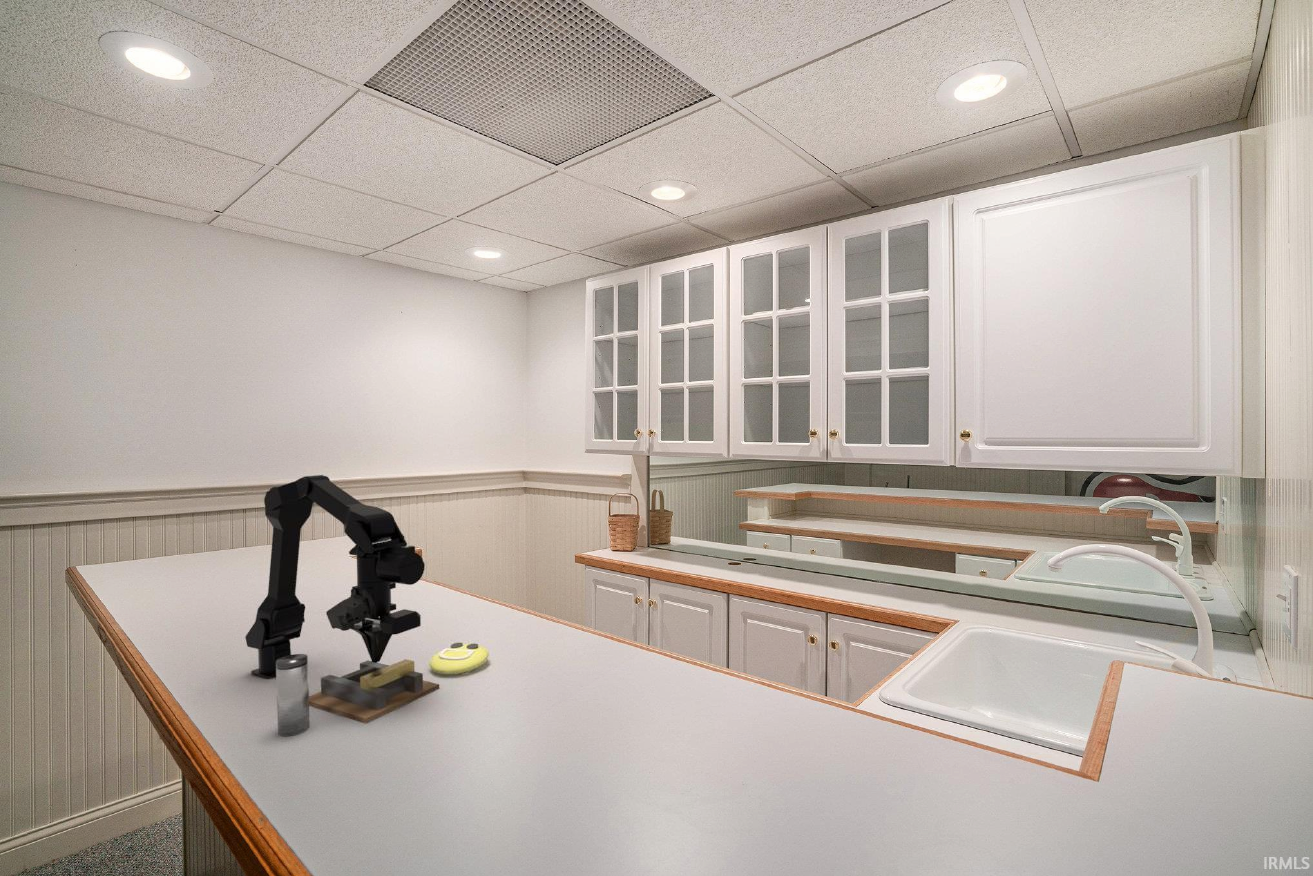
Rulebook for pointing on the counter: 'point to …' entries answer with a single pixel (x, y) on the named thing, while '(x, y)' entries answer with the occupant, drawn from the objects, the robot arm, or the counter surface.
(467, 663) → the emoji
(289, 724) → the metal canister
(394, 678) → the bar
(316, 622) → the counter surface
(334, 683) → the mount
